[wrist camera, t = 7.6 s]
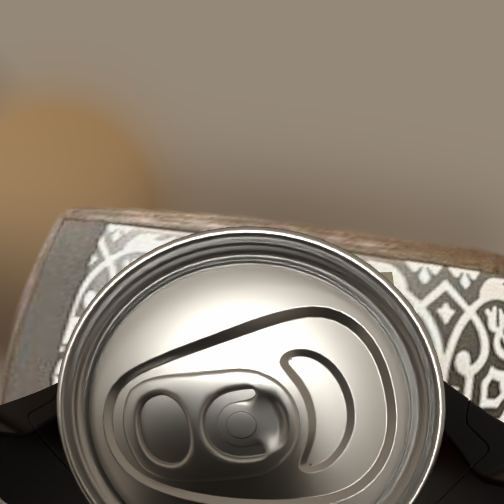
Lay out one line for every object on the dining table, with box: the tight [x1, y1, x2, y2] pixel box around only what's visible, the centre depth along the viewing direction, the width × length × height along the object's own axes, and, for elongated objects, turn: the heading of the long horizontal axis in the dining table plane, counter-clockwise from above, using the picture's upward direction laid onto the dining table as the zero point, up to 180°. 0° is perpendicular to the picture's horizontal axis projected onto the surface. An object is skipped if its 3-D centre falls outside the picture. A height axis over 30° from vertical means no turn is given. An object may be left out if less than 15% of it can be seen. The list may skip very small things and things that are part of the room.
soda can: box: [57, 226, 445, 504], centre depth 8 cm, size 7×7×12 cm
